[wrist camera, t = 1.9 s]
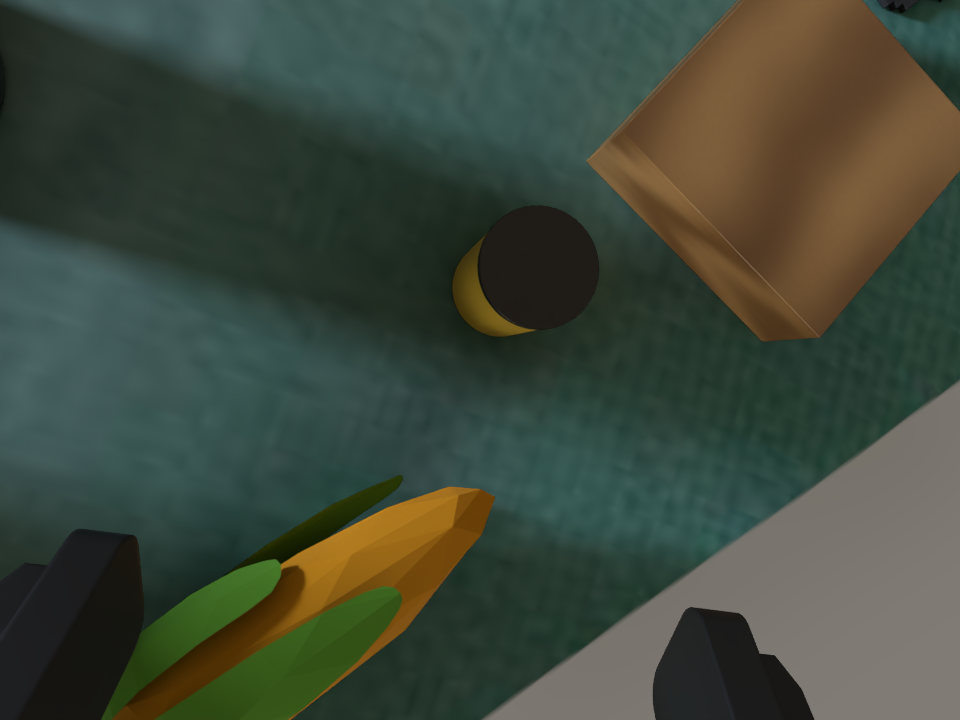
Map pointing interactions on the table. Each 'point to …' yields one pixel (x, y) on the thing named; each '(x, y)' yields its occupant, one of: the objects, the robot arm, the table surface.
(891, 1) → the block figure
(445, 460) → the table surface
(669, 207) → the wood block
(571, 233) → the tin
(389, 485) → the corn
